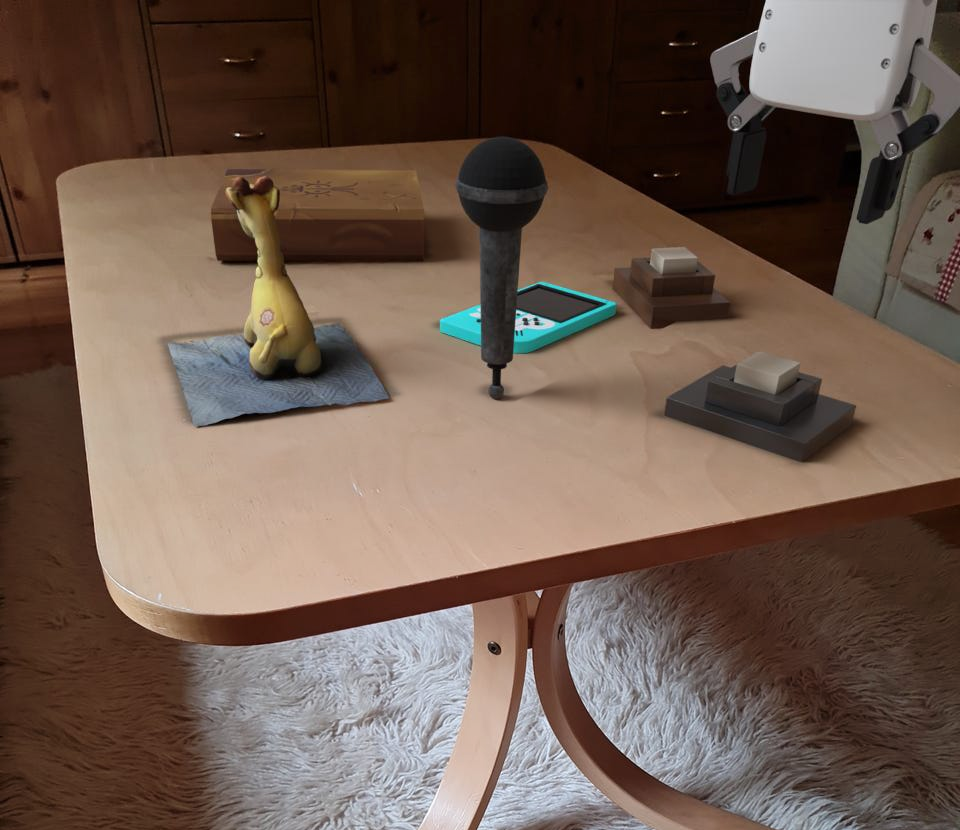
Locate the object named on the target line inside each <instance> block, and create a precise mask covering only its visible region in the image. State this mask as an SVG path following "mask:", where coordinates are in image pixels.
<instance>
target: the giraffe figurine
mask: <svg viewBox="0 0 960 830" xmlns="http://www.w3.org/2000/svg"><path fill="white" fill-rule="evenodd" d="M225 193H226V197H227V199H228V200H229V202H230V203H231V205H232V206H233V207H234V208H235V209H236V210H237V214H238V218H239V221H240V223H241V225H242V228H243V230H244V231H245V233H246V234H247V235H248V236H250V237H252V238H255V242H256V246H257V248H258V261H257V265H258V266H257V267H256V269H255V277H256V278H255V280H254V283H253V288H252V294H251V305H250V307H251V308H250V312H249V314H248V316H247V319H246V321H245V324H244V326H243V327H244V328H243V333H240V334H229V335H224V336H221V335H215V336H213V337H209V338H207V339H200V340H190V341H188V342H183V343H182V342H174V341H173V342H171V341H166V343H167V345H168V350H169V353H170V357H171V360H172V363H173V365H174V368H175V371H176V374H177V377H178V380H179V383H180V386H181V390H182V393H183V395H184V399H185V401H186V405H187V408H188V411H189V414H190V417H191V420H192V425H193V427H203V426H208V425H212V424H216V423H218V422H220V421H223V420H226V419H234V418H235V417H239V416H241V415H244V414H248V415H251V414H254V413H255V414H256V413H257V414H271V413H276V412H282V411H285V410H286V411H287V410H289V409H295V408H304V407H307V408H309V407H310V408H311V407H319V406H320V407H321V406H328V407H330V406H332V405H334V404H336V405H340V406H349V405H351V404H357V403H361V402H362V403H363V402H365V403H367V402H369V403H370V402H377V401H383V400H388V399H390V396H389V394H388V393H387V391H386V389H385V388H384V386H383V384H382V382H381V381H380V379H379V378H378V376H377V375H376V373H375V371H374V369H373V367H372V366H371V364H370V363H369V361H368V360H367V358H366V357H365V355H364V353H363V352H362V351H361V349H360V348H359V346H358V345H357V344H356V343H355V342H354V341H353V338H352V337H351V336H350V335H349V334H348V332H347V331H345V329H344V328H343V327H342V326H341V325H340V323H338V322H337V323H332V324H328V325H326V324H324V325H321V326H316V327H315V326H314V324H313V322H312V320H311V319H310V317H309V315H308V312H307V309H306V308H305V305H304V303H303V301H302V298H301V297H300V295H299V293H298V291H297V288H296V286H295V284H294V283H293V281H292V279H291V277H290V276H289V275H288V271H287V268H286V265H285V264H284V263H285V261H284V258H283V254H282V246H281V238H280V236H279V233H278V231H277V227H276V220H275V216H274V212H275V211H276V210H277V209H278V207H279V201H280V190H279V189H278V188H277V187H274V185H273V181H272V180H271V179H270V178H269V177H267V176H263V177H261V178H258V179H257V181H256V182H255V184H254V185H253V184H249V183H248V181H247V180H245V179H244V178H242V177H237V178H235V179H234V181H233V187H232V188H227V189H226V191H225Z"/></svg>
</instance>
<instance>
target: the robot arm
mask: <svg viewBox="0 0 960 830" xmlns="http://www.w3.org/2000/svg"><path fill="white" fill-rule="evenodd" d="M937 5H938V0H765V3H764V6H763V9H762V13H761V18H760V21H759V26H758V29H756V30H755V31H753V32H751V33H748V34H746V35H744V36H743V37H740V38H739V39H737V40H734V41H731V42H730V43H728V44H726V45H724V46H722V47H720V48H717V49H716V50H714V51H713V52H712V53H711V54H710V57H709V60H710V61H709V62H710V66H711V70H712V76H713V79H714V83H715V85H716V88H717V89H716V94H715V95H716V98H717V101H718V102H719V104H720V106H721V108H722V109H723V112H724V114H725V116H726V117H727V126H728V128H729V130H730V131H732V132H733V133H732V138H731V144H730V149H729V156H728V161H727V168H726V177H727V178H728V183H727V188H726V193H727V195H730V196H731V195H732V196H737V195H740V194H744V193H746V192H749V191H752V190H755V189H756V187H757V186H758V182H759V176H760V170H761V165H762V160H763V155H764V151H765V145H766V139H767V130H766V129H767V128H766V127H762V123H763V121H764V120H765V119H766V118H767V117H768V116H769V115H771V113H772V112H773V111H774V110H775V109H776V108H781V109H786V110H792V111H798V112H803V113H808V114H816V115H820V116H821V115H822V116H828V117H834V118H840V119H846V120H853V121H863V122H868V123H869V125H870V128H871V130H872V132H873V133H872V134H873V135H874V138H875V139H876V141H877V144H878V147H879V149H880V150H879V155H878V156H876V157H873V158H872V159H871V161H870V163H869V167H868V170H867V175H866V178H865V182H864V186H863V189H862V194H861V199H860V202H859V206H858V210H857V215H856V220H857V221H858V223H859V224H864V225H869V224H870V223H873V222H875V221H878V220H879V219H882V218H883V217H884V215H885V213H886V212H887V211H889V210H891V209H892V208H893V205H894V203H895V201H896V197H897V193H898V190H899V187H900V183H901V179H902V175H903V172H904V168H905V164H906V160H907V157H908V155H910V154H913V153H914V152H915V151H916V149H918V148H920V146H922V145H924V144H925V143H926V142H927V141H929V140H930V139H932V138H933V137H934V136H936V135H937V134H938V133H940V132H941V131H942V130H944V127H945V125H946V123H947V122H948V121H949V120H950V119H951V118H952V117H953V116H954V114H955V113H956V112H957V111H958V109H959V108H960V75H959V74H957V73H956V71H954V70H953V69H952V68H951V67H950V66H948V65H947V64H946V63H945V62H944V61H943V60H942V59H940V58H939V57H938V56H937V55H936V54H934V52H932V51H931V50H930V43H931V39H932V35H933V34H932V32H933V27H934V23H935V17H936V11H937ZM751 58H752V59H751ZM749 59H751V66H750V73H749V74H750V75H749V83H748V84H749V85H748V86H749V92H750V93H749V94H748V92H747V91H746V89H745V86H743V83H742V82H741V81H740V78H739V77H740V73H739V67H740V64H741V63H743V62H745V61H746V60H749ZM921 84H923V85H924V86H925V87H926V88H927V89H928V90H930V91H931V92H932V95H933V101H932V102H931V104H930V105H929V107H928V109H927V110H926V112H924V114H923V116H920V117H919V118H918V119H917V120H915V121H914V122H912V123H911V121H910V119H909V116H908V114H907V111H908V110H910V109H911V108H912V107H913V105H914V104H915V102H916V99H917V97H918V94H919V91H920V88H921Z"/></svg>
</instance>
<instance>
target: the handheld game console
mask: <svg viewBox="0 0 960 830" xmlns="http://www.w3.org/2000/svg"><path fill="white" fill-rule="evenodd" d="M616 313H617V302H615V301H611V300H608V299H605V298H601V297H597V296H594V295H591V294H587V293H584V292H580V291H577V290H573V289H571V288H566V287H563V286H559V285H556V284H553V283H549V282H545V281H539V282H536V283H534V284H530V285H528V286H525V287H522V288H520V289H518V292H517V307H516V321H515V335H514V349H513V354H529V353H531V352H534V351H536V350H538V349H541V348H543V347H546V346H548V345H550V344H553V343H554V342H557V341H559V340H562V339H564V338H567V337H568V336H570V335H572V334H575V333H578V332H579V331H582V330H584V329H587V328H588V327H591V326H594V325H595V324H597V323H600V322H602V321H604V320H607V319H609V318H611V317H613V316H616ZM439 331H440V333H442V334H445V335H448V336H452V337H454V338H456V339H460V340H463V341H465V342H468V343H472V344H474V345H477V346H479V347H481V304H478V305H474V306H472V307H470V308H467V309H464V310H461V311H459V312H456V313H454V314H450V315H449V316H445V317H442V318H441V319H439Z"/></svg>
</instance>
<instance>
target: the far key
mask: <svg viewBox="0 0 960 830" xmlns="http://www.w3.org/2000/svg"><path fill="white" fill-rule="evenodd" d="M650 257H651V259H650V265H651V266H652V267H653V268H654V269H655V270H656V271H657V272H658V273H660V274H673V273H692V272H696V268H697V261H698V262H699V258H698V256H697V255H695V254H694V253H693V252H692V251H690V249H688V248H687V247H685V246H681V247H679V246H678V247H677V246H676V247H658V248H657V247H656V248H651V251H650Z"/></svg>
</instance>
